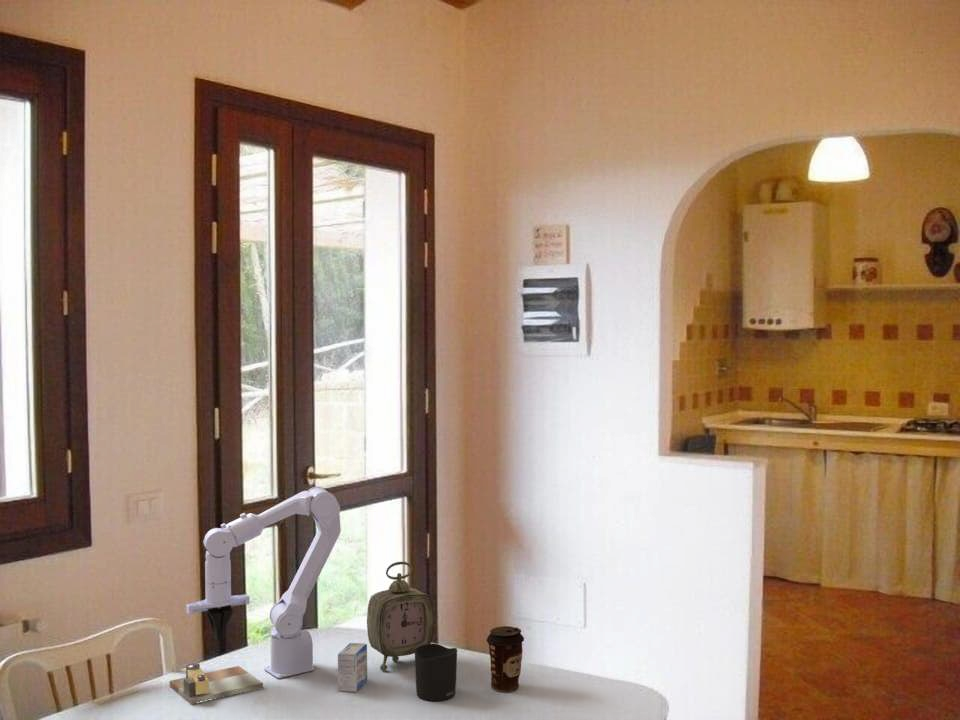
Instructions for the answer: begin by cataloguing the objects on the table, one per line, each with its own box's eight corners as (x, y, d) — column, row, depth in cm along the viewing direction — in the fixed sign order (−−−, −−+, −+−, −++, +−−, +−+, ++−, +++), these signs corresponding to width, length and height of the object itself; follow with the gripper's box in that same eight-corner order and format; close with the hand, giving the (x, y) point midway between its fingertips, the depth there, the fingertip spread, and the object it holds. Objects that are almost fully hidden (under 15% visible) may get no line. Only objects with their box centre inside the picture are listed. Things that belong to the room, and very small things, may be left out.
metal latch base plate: (238, 670, 226) (238, 653, 226) (263, 688, 215) (262, 669, 215) (169, 686, 216) (169, 667, 216) (191, 704, 205) (191, 685, 205)
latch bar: (184, 678, 216) (184, 662, 216) (198, 676, 217) (198, 660, 217) (195, 695, 206) (195, 678, 206) (209, 692, 207) (209, 676, 207)
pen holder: (419, 704, 205) (419, 658, 204) (411, 689, 214) (410, 645, 213) (461, 700, 207) (461, 654, 207) (451, 685, 216) (451, 641, 216)
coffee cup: (530, 684, 216) (530, 627, 216) (516, 696, 209) (516, 638, 209) (495, 678, 220) (495, 623, 220) (480, 690, 213) (480, 633, 212)
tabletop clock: (379, 675, 223) (378, 569, 222) (364, 663, 231) (363, 561, 230) (434, 664, 230) (433, 561, 230) (417, 653, 238) (417, 554, 238)
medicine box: (356, 692, 212) (356, 654, 212) (337, 691, 213) (337, 653, 212) (367, 680, 220) (367, 643, 219) (349, 679, 220) (349, 642, 220)
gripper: (241, 573, 227) (241, 629, 227) (181, 582, 218) (181, 641, 219) (253, 579, 221) (253, 636, 222) (192, 588, 213) (192, 649, 213)
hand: (218, 639), depth 220 cm, fingers closed
